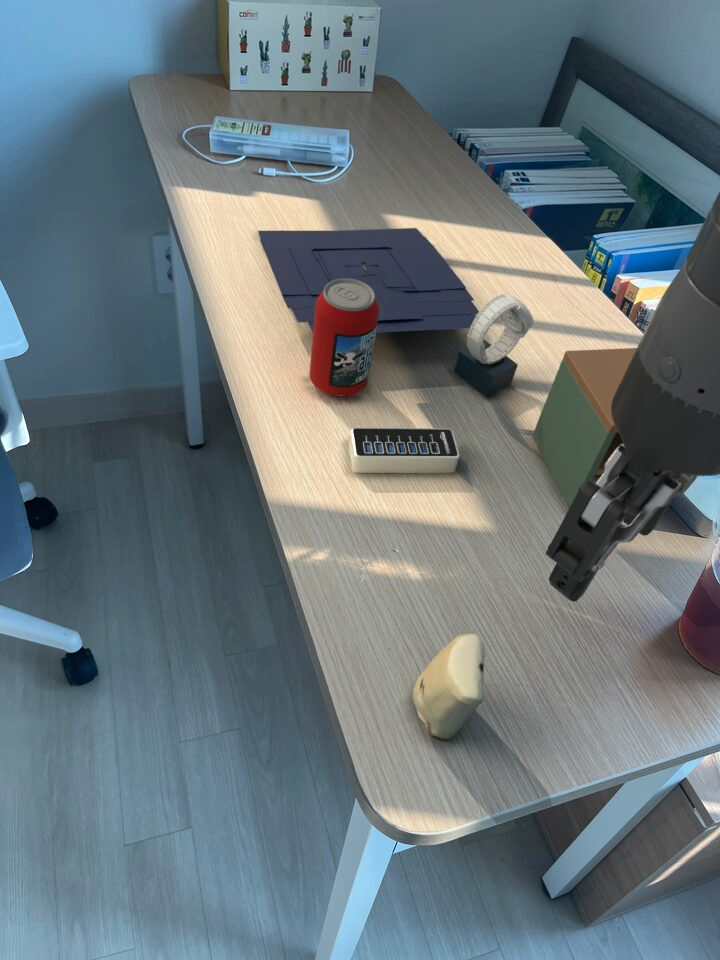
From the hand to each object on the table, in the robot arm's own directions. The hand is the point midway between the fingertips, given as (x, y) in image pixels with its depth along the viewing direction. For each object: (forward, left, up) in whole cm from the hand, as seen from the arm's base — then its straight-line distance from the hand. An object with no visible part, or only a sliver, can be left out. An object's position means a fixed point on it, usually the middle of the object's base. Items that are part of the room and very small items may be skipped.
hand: (601, 556), depth 50 cm
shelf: (+5, -28, -18) cm, 34 cm away
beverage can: (+34, -23, -18) cm, 45 cm away
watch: (+21, -35, -18) cm, 45 cm away
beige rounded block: (+5, +6, -18) cm, 20 cm away
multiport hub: (+22, -17, -18) cm, 33 cm away
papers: (+41, -41, -18) cm, 61 cm away
